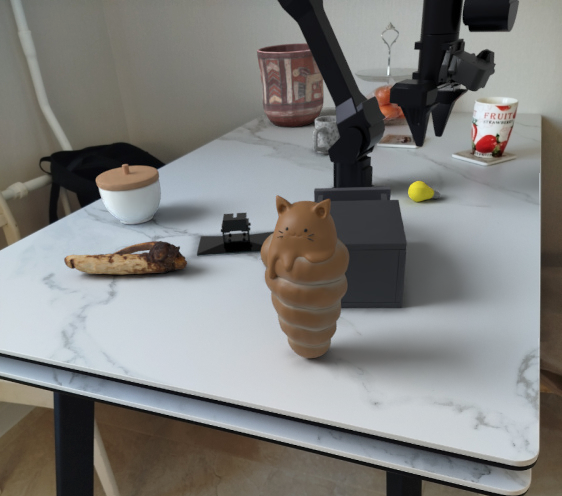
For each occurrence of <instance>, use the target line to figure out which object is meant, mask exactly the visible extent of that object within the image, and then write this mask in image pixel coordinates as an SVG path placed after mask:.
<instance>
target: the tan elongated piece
mask: <svg viewBox="0 0 562 496" xmlns="http://www.w3.org/2000/svg"><path fill="white" fill-rule="evenodd" d="M180 249H181V246H179V245H178V246H176V245H175V244H173V243H170V242H168V241H162V240H158V241H157V240H154V241H146V242H140V243H136V244H132V245H129V246H126V247H124V248H121V249H119V250H117V251H115V252H113V253H105V254H103V253H100V254H70V255H69V254H68V255H66V257H64V258H63V260H64V264H65V265H66V267H68V268H69V269H72V270H74V269H76V270H77V271H79V272H81V273H84V274H85V273H86V274H91V275H92V274H93V275H94V274H96V275H98V274H99V275H101V274H104V275H121V276H123V275H124V276H125V275H133V274H136V275H144V274H157V273H158V274H162V273H164V274H166V273H168V272H174V271H176V270H183V269H185V268H187V266H188V261H187V260H186V257H185V255H183V254H182V253H181V251H180ZM146 251H147V252H146ZM138 252H142V253H138Z"/></svg>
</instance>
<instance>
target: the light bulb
mask: <svg viewBox="0 0 562 496" xmlns="http://www.w3.org/2000/svg"><path fill="white" fill-rule="evenodd" d="M407 193H408V197H409V198H410V199H411V201H413V202H415V203H420V202H423V201H425V200H430V199H433V200H437V199H439V198H440V197H441V193H440V191H439V190H436V189H434V188H432V187H430V186H429V185H428V184H427V183H425V182H424V181H422V180H417V181H414V182H412V183H411V184H410V185H409V187H408V191H407Z"/></svg>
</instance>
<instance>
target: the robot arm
mask: <svg viewBox="0 0 562 496" xmlns="http://www.w3.org/2000/svg"><path fill="white" fill-rule="evenodd" d="M276 1H277V2H278V4H279V5H280V7H281V8H282V10H284V11H285V13H286V14H288V15H289V16H290V17H291V18H292V19H293V20H294V21H295V22H296V24H297V25H298V27H299V29H300V32H301V33H302V36H303V38H304V40H305V43H307V45H308V47H309V49H310V51H311V53H312V56H313V58H314V60H315V62H316V64H317V67H318V69H319V71H320V73H321V75H322V78H323V83H324V84H325V86H326V88H327V91H328V93H329V95H330V97H331V100H332V102H333V104H334V107H335V116H336V126H337V129H338V133H339V136H340V138H339V139H338V140H337V141H336V142H335V143H334V144H333V145H332V146H331V147H330V148H329V150H328V154H327V155H328V158H329V160H330V162H331V163H333V164H332V165H333V166H332V167H333V169H332V171H333V172H332V173H333V174H332V176H333V179H332V180H333V181H332V183H333V187H332V188H354V187H375V185H374V184H373V169H374V168H373V165H372V156H369V154H371V153H373V152H374V149H375V147H376V145H377V144H378V143H380V141H382V139H383V137H384V133H385V131H386V126H385V121H384V120H385V119H386V115H385V114H384V113H383V112H382V110H381V108H380V104H379V100H378V98H377V97H376V96H375V95H374V96H372V97H370V98H367V97H366V96H365V95H364V94H363V93H362V92H361V90H360V89H359V85H358V84H357V82H356V79H355V76H354V75H353V72H352V70H351V68H350V65H349V64H348V63H349V62H348V61H347V59H346V57H345V53H344V52H343V50H342V47H341V44H340V42H339V41H338V38H337V36H336V33H335V31H334V29H333V27H332V25H331V22H330V20H329V18H328V16H327V13H326V11H325V8H324V0H276ZM519 4H520V0H423V1H422V13H421V26H420V35H419V36H420V37H419V40H417V41H414V46H413V47H414V48H413V49H414V50H415V51H418V62H417V70H416V71H413V72H412V73H411V78H405V79H403V80H400V81H397V82H395V83H394V84H393V86H391V87H390V89H389V104H393V105H396V106H397V107H399V108H400V110H401V112H402V114H403V117H404V118H405V121H406V122H407V125H408V128H409V131H410V134H411V136H412V138H413V141H414V144H415V146H416V147H419V148H422V147H423V146H424V144H425V140H426V136H427V132H428V125H429V121H430V116H431V119H432V126H433V133H434V137H437V138H441V137H442V136H443V135H444V132H445V129H446V128H447V124H448V122H449V119H450V118H451V117H450V116H451V114H452V112H453V108H454V106H455V104H456V102H457V101H458V100H459V99H460V98H462V97H463V96H464V95H465V94H467V92H468V91H470V92H478V91H479V90H480V89H485V87H486V85H487V83H488V81H489V79H490V77H491V76H493V75H494V74H495V73H496V71H495V70H496V69H495V67H496V65H497V64H496V63H495V52H494V51H492V50H491V49H488V48H486V49H482V50H481V51H479V53H478V54H477V55H476V53H475V52H472V53H470V52H468V51H466V50H465V47H466V42H465V41H464V40H465V39H464V38H460V32H461V24H463V25H464V26H465V27H467V28H468V31H469V32H470V33H510V32H512V30H513V28H514V25H515V23H516V20H517V15H518V11H519ZM462 86H463V87H465V88H461V87H462Z"/></svg>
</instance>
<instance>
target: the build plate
mask: <svg viewBox="0 0 562 496" xmlns="http://www.w3.org/2000/svg"><path fill="white" fill-rule="evenodd" d="M250 226H252V222H250V218H249V217H248V213H247V212H237V213H236V216H235V215H234V213H223V217H222V221H221V229H220V233H221V234H214V235H201V236H200V238H199V243H198V247H197V251H196V256H197V257H203V256H205V257H206V256H217V255H218V256H220V255H236V254H249V253H253V254H254V253H261V248H262V245H263V243H264V241H265V240H266V239H267V238H268V237H269V236H270V235H271V234H273V233H274V231H262V232H261V231H260V232H259V231H258V232H251V227H250ZM232 232H239V233H232Z"/></svg>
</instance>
